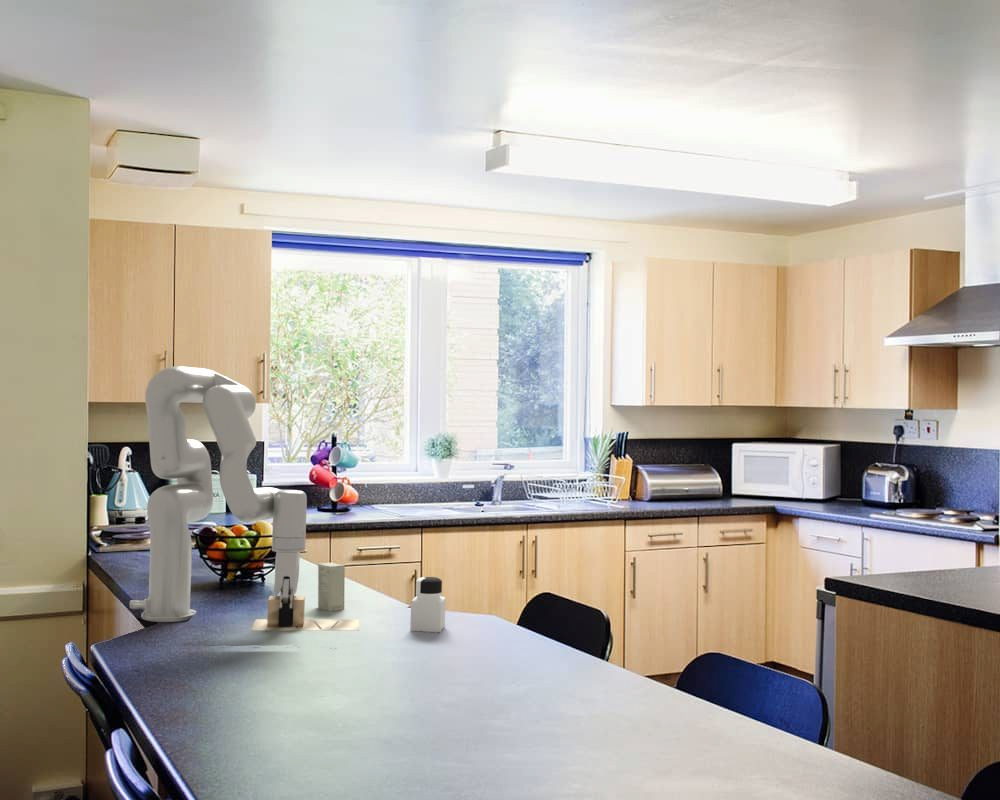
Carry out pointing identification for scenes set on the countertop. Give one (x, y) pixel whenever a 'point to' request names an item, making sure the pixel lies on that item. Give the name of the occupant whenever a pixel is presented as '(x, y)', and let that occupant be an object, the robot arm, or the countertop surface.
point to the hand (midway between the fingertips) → (286, 622)
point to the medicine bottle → (428, 606)
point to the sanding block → (297, 606)
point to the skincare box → (331, 586)
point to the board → (311, 625)
